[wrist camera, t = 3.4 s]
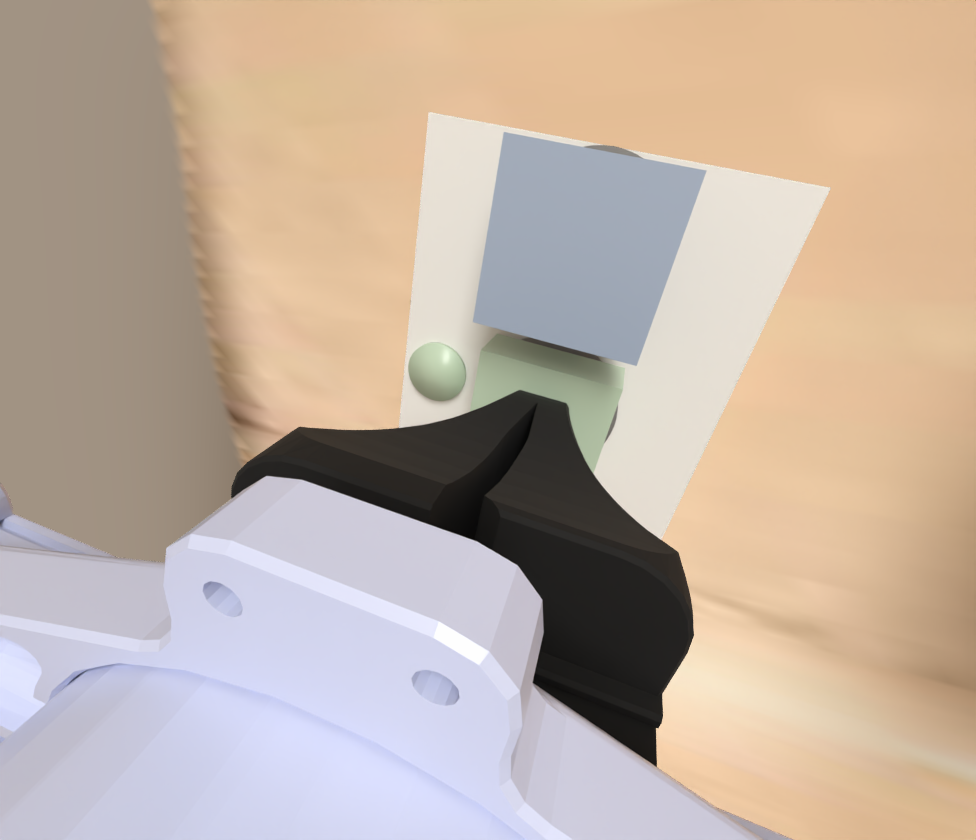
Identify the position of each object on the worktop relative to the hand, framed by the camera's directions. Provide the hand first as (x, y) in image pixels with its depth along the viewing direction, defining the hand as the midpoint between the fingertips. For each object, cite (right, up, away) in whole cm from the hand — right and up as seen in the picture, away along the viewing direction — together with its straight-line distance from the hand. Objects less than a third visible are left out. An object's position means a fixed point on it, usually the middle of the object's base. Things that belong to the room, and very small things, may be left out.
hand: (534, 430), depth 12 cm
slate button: (+1, +4, -2) cm, 5 cm away
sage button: (0, +1, +1) cm, 1 cm away
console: (+1, +2, +3) cm, 4 cm away
